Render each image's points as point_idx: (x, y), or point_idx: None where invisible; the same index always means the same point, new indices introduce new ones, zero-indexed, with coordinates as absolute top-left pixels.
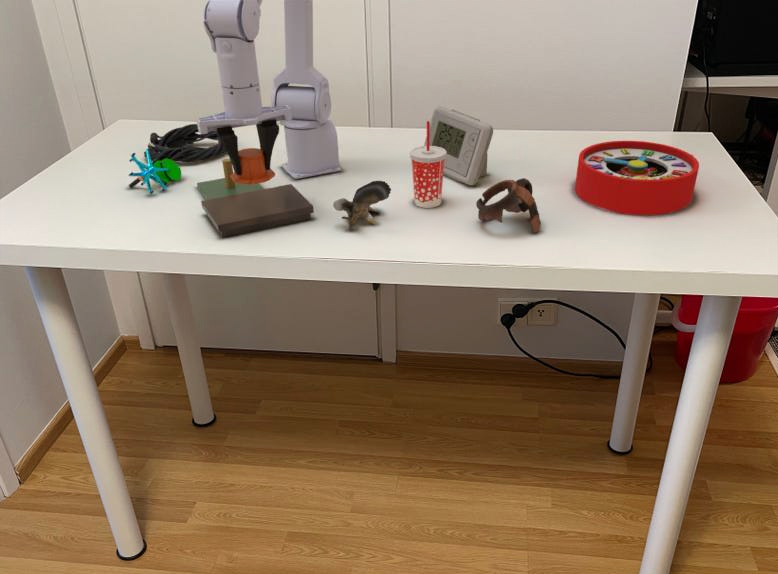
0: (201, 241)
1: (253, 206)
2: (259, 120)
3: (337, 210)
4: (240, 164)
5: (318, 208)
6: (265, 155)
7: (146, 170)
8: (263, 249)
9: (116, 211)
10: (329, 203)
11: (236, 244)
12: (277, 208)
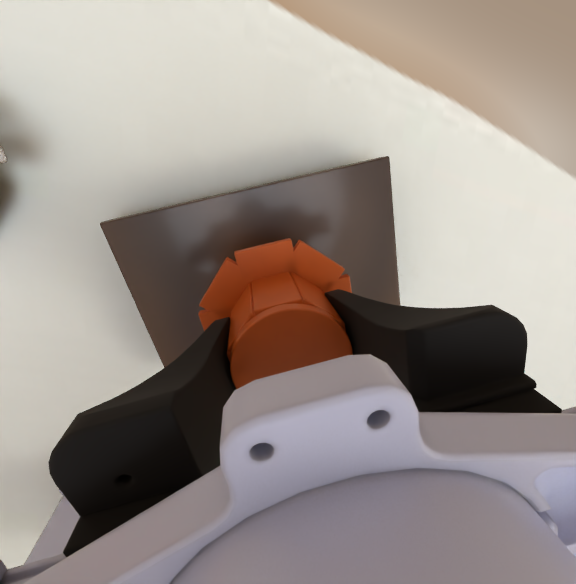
0: (413, 163)
1: None
2: (204, 478)
3: (4, 160)
4: (334, 309)
5: (109, 290)
6: (221, 346)
7: None
8: (268, 49)
9: (531, 360)
10: (79, 315)
11: (336, 114)
12: (213, 232)
